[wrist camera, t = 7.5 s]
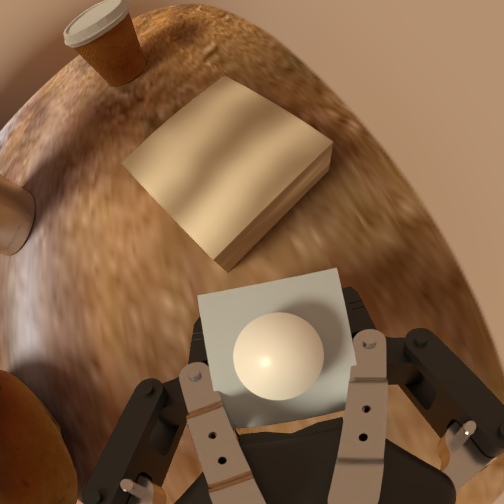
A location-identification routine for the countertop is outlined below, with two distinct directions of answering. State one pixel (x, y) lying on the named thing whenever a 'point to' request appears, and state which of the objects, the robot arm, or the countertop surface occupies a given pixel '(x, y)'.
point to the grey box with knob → (279, 348)
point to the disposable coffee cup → (107, 41)
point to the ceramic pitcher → (32, 450)
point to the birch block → (230, 167)
